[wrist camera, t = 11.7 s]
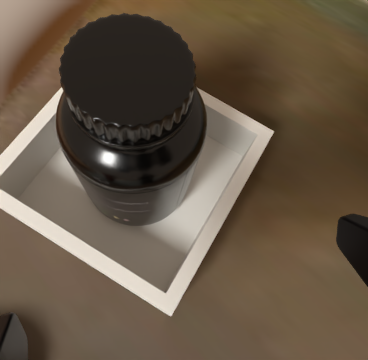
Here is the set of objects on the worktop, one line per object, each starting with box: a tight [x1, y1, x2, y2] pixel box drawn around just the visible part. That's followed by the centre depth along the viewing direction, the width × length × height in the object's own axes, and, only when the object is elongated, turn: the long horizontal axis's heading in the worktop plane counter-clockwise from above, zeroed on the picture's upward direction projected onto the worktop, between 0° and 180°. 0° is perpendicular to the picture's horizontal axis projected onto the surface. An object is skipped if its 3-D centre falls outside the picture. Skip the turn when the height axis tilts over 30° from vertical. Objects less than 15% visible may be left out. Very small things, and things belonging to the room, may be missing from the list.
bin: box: [0, 88, 274, 316], centre depth 22 cm, size 13×13×4 cm
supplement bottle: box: [55, 13, 207, 226], centre depth 17 cm, size 7×7×12 cm
